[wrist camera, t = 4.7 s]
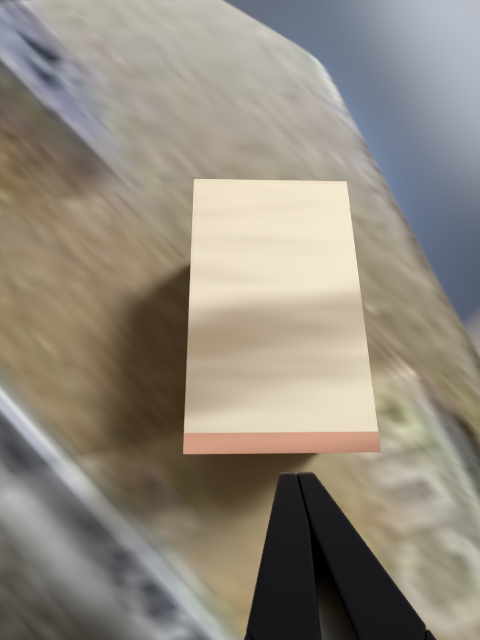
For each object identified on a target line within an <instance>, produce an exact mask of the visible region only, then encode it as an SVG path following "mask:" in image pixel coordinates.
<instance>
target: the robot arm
mask: <svg viewBox="0 0 480 640" xmlns="http://www.w3.org/2000/svg"><path fill="white" fill-rule="evenodd" d="M244 640H436V638H435V637H434V636H433V634H432V633H431V632H430V630H426V625H425V624H424V622H423V621H422V620H421V618H420V617H419V615H418V614H417V613H416V611H415V610H414V609H413V607H412V606H411V605H410V603H409V602H408V600H407V599H406V598H405V596H404V595H403V594H402V592H401V591H400V590H399V588H398V587H397V585H396V584H395V583H394V581H393V580H392V579H391V577H390V576H389V575H388V573H387V572H386V570H385V569H384V568H383V566H382V565H381V564H380V562H379V561H378V560H377V558H376V557H375V555H374V554H373V553H372V551H371V550H370V549H369V547H368V546H367V545H366V543H365V542H364V540H363V539H362V538H361V536H360V535H359V534H358V532H357V531H356V530H355V528H354V527H353V525H352V524H351V523H350V521H349V520H348V519H347V517H346V516H345V515H344V513H343V512H342V510H341V509H340V508H339V506H338V505H337V504H336V502H335V501H334V500H333V498H332V497H331V495H330V494H329V493H328V491H327V490H326V489H325V487H324V486H323V485H322V483H321V482H320V480H319V479H318V478H317V476H316V475H315V474H314V473H312V472H298V473H297V474H296V473H294V472H281V473H280V474H279V477H278V482H277V486H276V491H275V496H274V501H273V505H272V510H271V515H270V520H269V524H268V529H267V534H266V539H265V544H264V548H263V553H262V558H261V563H260V567H259V572H258V577H257V582H256V586H255V591H254V596H253V601H252V605H251V610H250V615H249V620H248V625H247V629H246V635H245V638H244Z"/></svg>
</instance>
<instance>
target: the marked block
mask: <svg viewBox="0 0 480 640" xmlns="http://www.w3.org/2000/svg"><path fill="white" fill-rule="evenodd" d="M348 452H381V451H380V444H379V436H378V428H377V420H376V412H375V404H374V396H373V388H372V380H371V372H370V364H369V356H368V348H367V340H366V333H365V325H364V317H363V309H362V301H361V293H360V285H359V277H358V269H357V261H356V253H355V245H354V237H353V229H352V222H351V214H350V206H349V198H348V190H347V182H346V181H282V180H217V179H194V196H193V221H192V246H191V270H190V295H189V320H188V345H187V369H186V394H185V419H184V443H183V454H255V453H348Z"/></svg>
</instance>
